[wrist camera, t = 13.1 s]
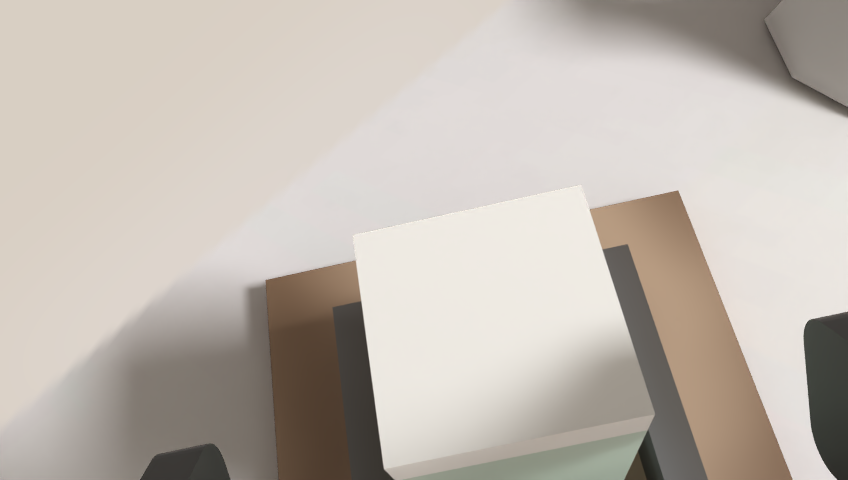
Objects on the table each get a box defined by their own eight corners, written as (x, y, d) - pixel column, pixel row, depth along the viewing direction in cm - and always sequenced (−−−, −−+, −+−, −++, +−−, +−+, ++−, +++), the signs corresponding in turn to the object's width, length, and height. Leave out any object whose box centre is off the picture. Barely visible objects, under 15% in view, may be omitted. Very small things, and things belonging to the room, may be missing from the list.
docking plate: (309, 777, 19) (264, 804, 16) (275, 292, 26) (238, 246, 23) (857, 679, 18) (918, 688, 15) (673, 206, 25) (690, 146, 22)
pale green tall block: (456, 541, 20) (384, 469, 11) (430, 392, 22) (352, 235, 13) (608, 511, 20) (655, 414, 11) (568, 363, 22) (581, 184, 13)
